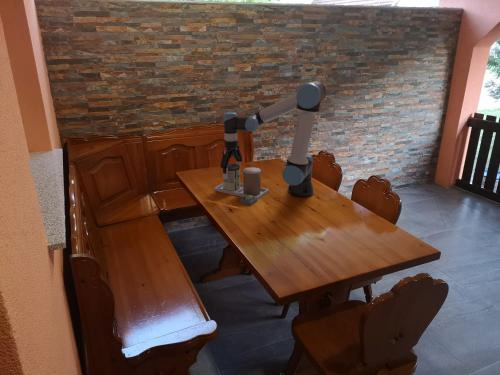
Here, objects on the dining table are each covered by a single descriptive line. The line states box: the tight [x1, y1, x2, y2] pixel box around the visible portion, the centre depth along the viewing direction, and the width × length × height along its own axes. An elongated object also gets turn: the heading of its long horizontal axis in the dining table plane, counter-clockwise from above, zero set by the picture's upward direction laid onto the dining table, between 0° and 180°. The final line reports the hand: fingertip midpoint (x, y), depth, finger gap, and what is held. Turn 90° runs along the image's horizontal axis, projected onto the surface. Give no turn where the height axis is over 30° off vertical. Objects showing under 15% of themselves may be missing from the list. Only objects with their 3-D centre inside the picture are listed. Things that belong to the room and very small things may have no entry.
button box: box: [239, 197, 259, 206], centre depth 202 cm, size 7×7×3 cm
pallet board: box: [213, 182, 270, 200], centre depth 217 cm, size 29×15×2 cm, turn 60°
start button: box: [245, 195, 253, 201], centre depth 201 cm, size 4×4×3 cm
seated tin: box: [242, 166, 262, 196], centre depth 211 cm, size 10×10×14 cm
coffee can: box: [222, 163, 241, 192], centre depth 218 cm, size 10×10×14 cm
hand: (232, 175), depth 217 cm, fingers open, 13 cm apart
